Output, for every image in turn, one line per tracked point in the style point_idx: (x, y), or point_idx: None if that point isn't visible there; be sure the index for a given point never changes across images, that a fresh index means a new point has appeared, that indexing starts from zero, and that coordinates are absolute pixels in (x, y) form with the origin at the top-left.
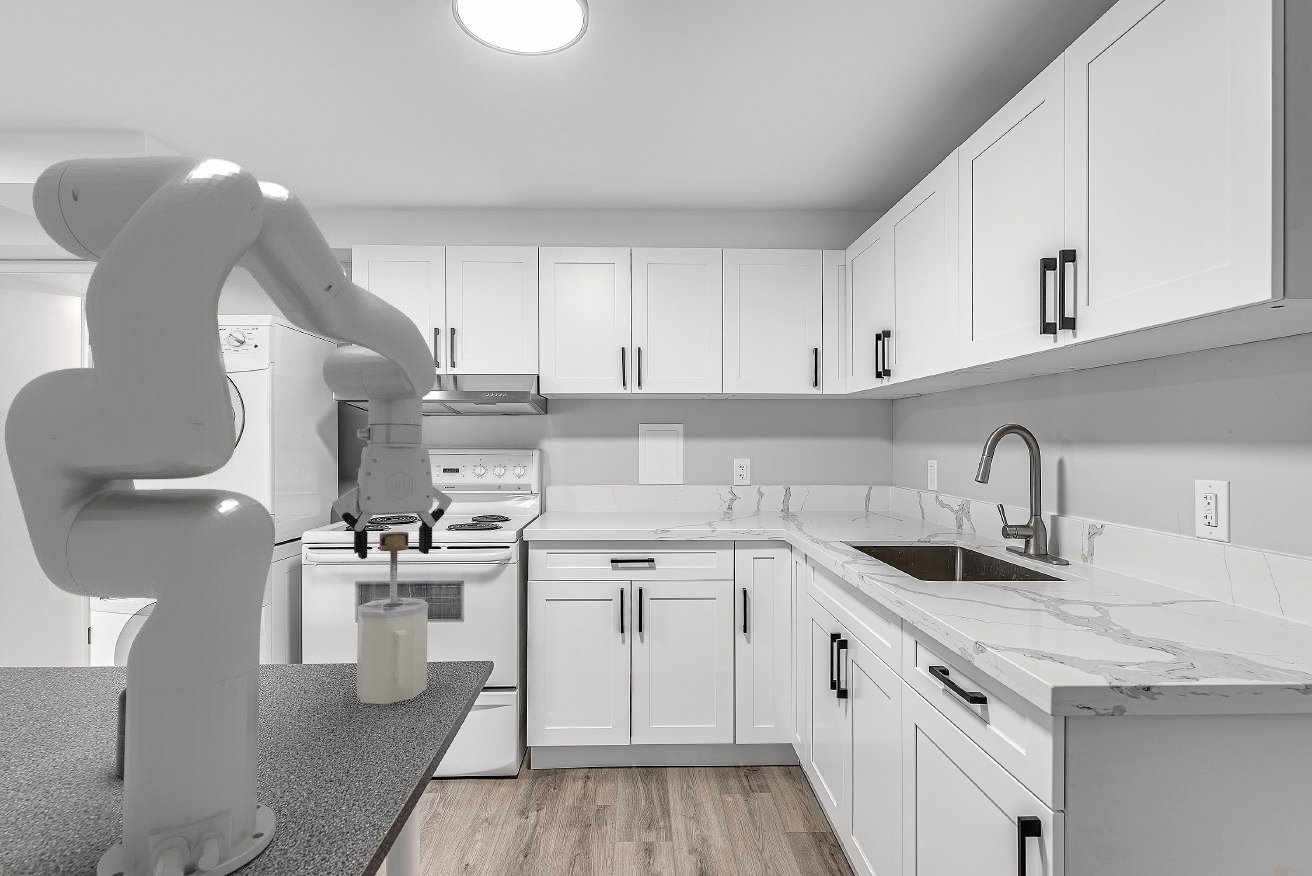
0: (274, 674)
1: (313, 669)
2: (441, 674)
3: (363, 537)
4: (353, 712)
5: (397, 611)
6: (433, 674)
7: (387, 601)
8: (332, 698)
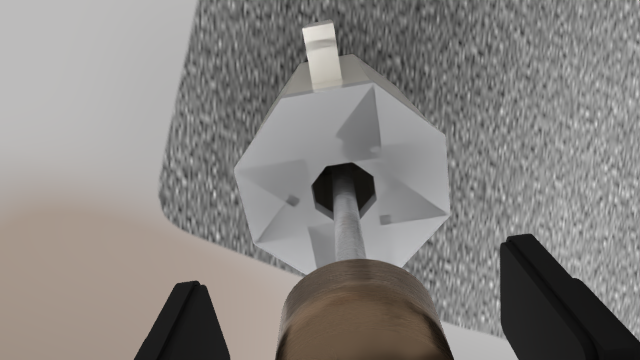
0: None
1: (461, 302)
2: None
3: (594, 309)
4: (412, 35)
5: (336, 89)
6: None
7: None
8: None
